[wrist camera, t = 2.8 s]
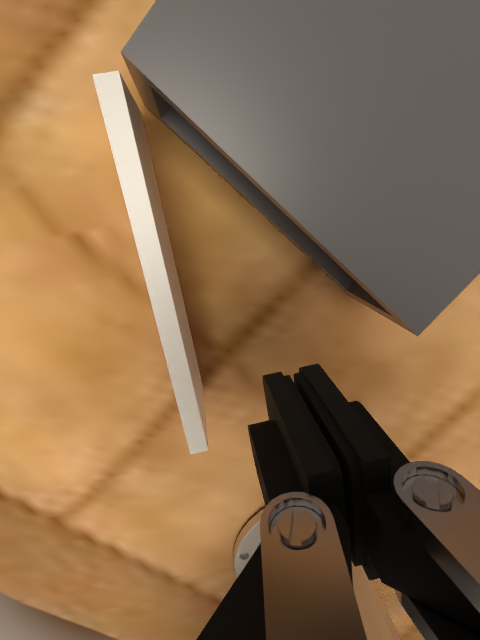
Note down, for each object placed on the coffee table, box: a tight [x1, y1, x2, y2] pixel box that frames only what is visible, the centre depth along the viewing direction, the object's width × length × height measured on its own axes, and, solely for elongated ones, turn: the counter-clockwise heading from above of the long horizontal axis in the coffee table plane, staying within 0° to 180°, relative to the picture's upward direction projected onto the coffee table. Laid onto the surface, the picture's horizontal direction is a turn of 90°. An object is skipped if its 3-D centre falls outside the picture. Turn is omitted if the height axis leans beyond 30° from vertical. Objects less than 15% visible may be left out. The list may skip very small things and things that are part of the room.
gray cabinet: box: [121, 0, 480, 336], centre depth 18 cm, size 16×20×8 cm
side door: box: [93, 71, 208, 455], centre depth 20 cm, size 1×18×7 cm, turn 10°
